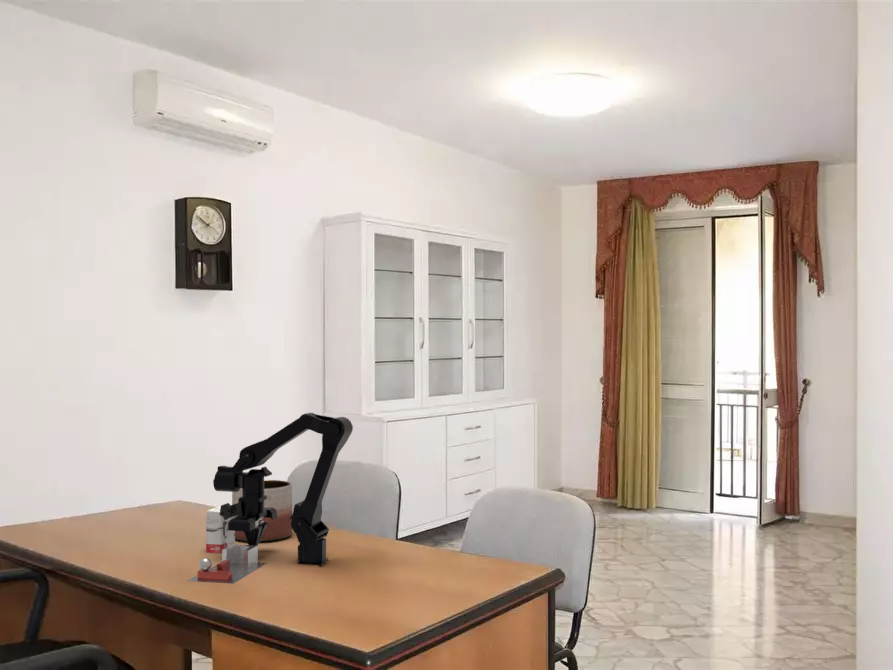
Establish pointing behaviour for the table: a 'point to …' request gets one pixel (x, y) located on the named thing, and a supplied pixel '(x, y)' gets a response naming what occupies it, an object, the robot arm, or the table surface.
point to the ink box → (217, 531)
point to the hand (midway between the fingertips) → (253, 551)
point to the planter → (282, 502)
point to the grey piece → (222, 572)
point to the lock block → (241, 555)
